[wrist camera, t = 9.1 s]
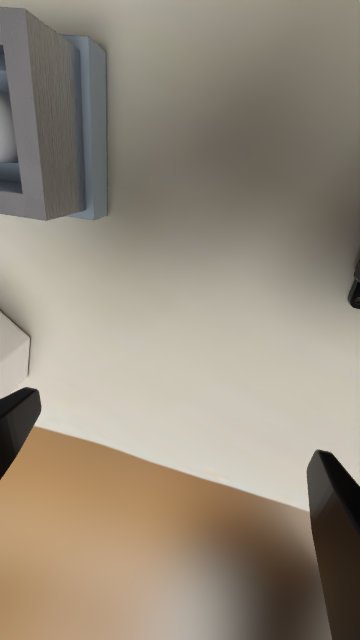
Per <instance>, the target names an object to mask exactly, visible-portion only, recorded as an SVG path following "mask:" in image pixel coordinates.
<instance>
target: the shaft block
mask: <svg viewBox="0 0 360 640" xmlns="http://www.w3.org/2000/svg"><path fill="white" fill-rule="evenodd" d="M59 35H60V36H61V37H63V38H64V39H65V40H67V41H68V42H69V43H71V44H72V45H73V46H75V47H76V48H77V49H79V50H80V64H81V89H82V114H83V139H84V165H85V190H86V210H85V211H81V212H77V213H74V214H70V215H66V216H69V217H76V218H82V219H89V220H96V219H99V218H101V217H104V216H107V130H106V52H105V51H104V50H103V49H102V48H101V47H99V46H98V45H97V44H96V43H95V42H94V41H93V40H92V39H90V38H89V37H87V36H74V35H61V34H59ZM0 180H7V181H14V182H21V177H20V169H19V162H18V154H17V147H16V139H15V132H14V124H13V117H12V109H11V102H10V94H9V86H8V79H7V71H3V70H0Z"/></svg>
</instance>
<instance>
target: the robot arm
mask: <svg viewBox="0 0 360 640" xmlns="http://www.w3.org/2000/svg"><path fill="white" fill-rule="evenodd" d="M354 277H355V278H356V280H355V282H354V285H353V287H352V290H351V292H350V294H349V297H348V302H349V304H350V305H351V306H352V307H353V308H357V309H360V301H359V302H355V299H356V298H358V297H360V260H359V263H358V265H357V267H356V270H355V272H354ZM40 412H41V401H40V395H39V391H38V390H37V389H34V388H29V387H25V388H22V389H20V390H18V391H16V392H14V393H12V394H10V395H8V396H5V397H3V398H1V399H0V480H1V478H2V477H3V475H4V474H5V472H6V471H7V469H8V468H9V467H10V465H11V464H12V462H13V461H14V459H15V458H16V456H17V454H18V452H19V451H20V449H21V447H22V446H23V444H24V442H25V440H26V438H27V437H28V434H29V433H30V431H31V429H32V428H33V426H34V424H35V422H36V420H37V419H38V417H39V415H40ZM307 483H308V495H309V507H310V519H311V529H312V535H313V540H314V546H315V551H316V556H317V562H318V567H319V572H320V578H321V583H322V588H323V594H324V599H325V604H326V610H327V615H328V620H329V625H330V630H331V636H332V640H360V486H359V485H358V484H357V483H356V481H355V480H354V479H353V478H352V477H351V475H350V474H349V473H348V472H347V471H346V469H345V468H344V467H343V466H342V465H341V463H340V462H339V461H338V460H337V459H336V457H335V456H334V455H333V454H332V453H331V452H328V451H323V450H316V451H315V452H314V454H313V456H312V458H311V461H310V463H309V465H308V467H307Z"/></svg>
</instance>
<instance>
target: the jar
mask: <svg viewBox="0 0 360 640" xmlns="http://www.w3.org/2000/svg"><path fill="white" fill-rule="evenodd" d="M29 346H30V338H29V336H27V335H26V334H25V333H24V332H23V331H22V330H21V329H20V328H19V327H17V326H16V325H15V324H14V323H13V322H12V321H11V320H10V319H9V318H7V317H6V316H5V315H4V314H3V313H2V312H1V311H0V399H1V398H3V397H5V396H8V395H10V394H11V393H12V392H13V391H14V390H15V389H16V388H17V387H18V386H19V385H20V384H21V383H22V382H23V381H24V380H25V379H26V378H27V373H28V359H29Z"/></svg>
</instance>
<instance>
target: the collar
mask: <svg viewBox="0 0 360 640" xmlns="http://www.w3.org/2000/svg"><path fill="white" fill-rule="evenodd" d="M0 70H3V71H7V79H8V86H9V94H10V102H11V109H12V117H13V124H14V132H15V139H16V147H17V154H18V162H19V169H20V177H21V182H14V181H7V180H0V214H5V215H12V216H18V217H25V218H32V219H38V220H45V221H47V220H51V219H55V218H58V217H62V216H66V215H70V214H74V213H77V212H81V211H85V210H86V190H85V165H84V139H83V114H82V89H81V64H80V50H79V49H77V48H76V47H75V46H73V45H72V44H71V43H69V42H68V41H67V40H65V39H64V38H63V37H61V36H60V35H59V34H57V33H56V32H55V31H53V30H52V29H51V28H50V27H48V26H47V25H46V24H44V23H43V22H42V21H40V20H39V19H38V18H36V17H35V16H34V15H32V14H31V13H30V12H28V11H27V10H26V9H22V8H7V7H0Z"/></svg>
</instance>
